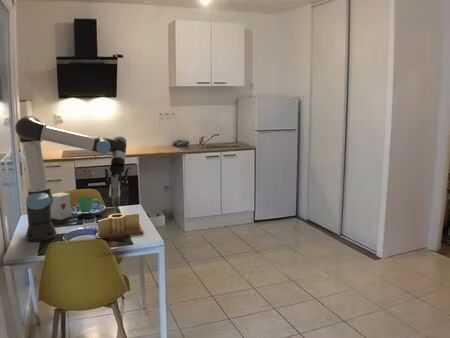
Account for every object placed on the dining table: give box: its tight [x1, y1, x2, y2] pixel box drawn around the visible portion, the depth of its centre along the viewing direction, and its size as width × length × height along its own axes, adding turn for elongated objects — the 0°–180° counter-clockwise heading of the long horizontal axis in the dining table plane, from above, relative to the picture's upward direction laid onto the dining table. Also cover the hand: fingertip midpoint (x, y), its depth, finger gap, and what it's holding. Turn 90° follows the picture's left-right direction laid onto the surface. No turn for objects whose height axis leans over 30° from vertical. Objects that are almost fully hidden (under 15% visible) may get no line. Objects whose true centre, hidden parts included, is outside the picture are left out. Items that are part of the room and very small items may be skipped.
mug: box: [76, 196, 101, 213], centre depth 271 cm, size 15×10×10 cm
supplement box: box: [51, 192, 72, 221], centre depth 263 cm, size 9×9×15 cm
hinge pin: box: [110, 175, 121, 207], centre depth 231 cm, size 4×4×16 cm
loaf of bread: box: [95, 212, 144, 239], centre depth 235 cm, size 25×15×10 cm, turn 109°
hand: (114, 195), depth 228 cm, fingers closed on hinge pin, 4 cm apart
